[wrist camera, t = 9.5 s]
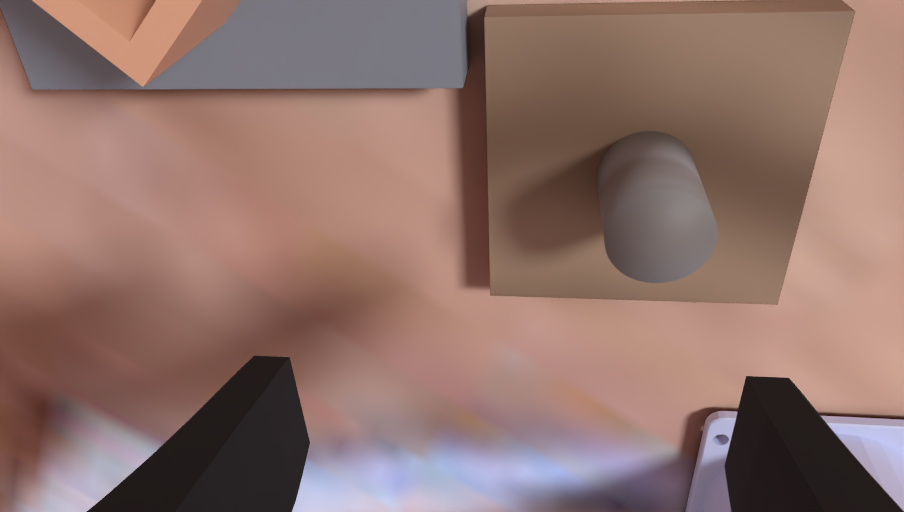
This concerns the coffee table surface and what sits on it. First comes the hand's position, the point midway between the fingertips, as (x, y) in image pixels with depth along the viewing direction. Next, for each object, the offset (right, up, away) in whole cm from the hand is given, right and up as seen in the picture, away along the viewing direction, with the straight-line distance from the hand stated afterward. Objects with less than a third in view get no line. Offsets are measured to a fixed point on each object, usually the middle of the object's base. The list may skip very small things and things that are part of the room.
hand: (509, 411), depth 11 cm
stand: (+4, +5, +7) cm, 10 cm away
